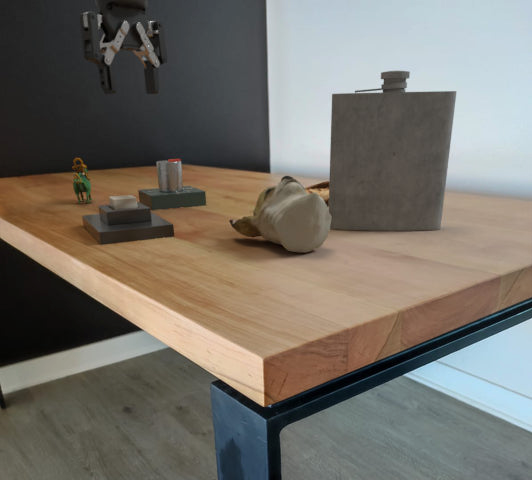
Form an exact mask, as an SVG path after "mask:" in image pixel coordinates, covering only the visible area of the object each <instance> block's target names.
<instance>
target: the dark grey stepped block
mask: <svg viewBox="0 0 532 480" xmlns="http://www.w3.org/2000/svg"><path fill="white" fill-rule="evenodd" d="M137 206H138V208H130V209H119V210H112V209H111V208H110V204H103V205H98V206H97V209H98V213H93V214H84V215H81V219H82V226H83V227H84V229H85V230H86V231H87V232H88V233H89V234H90V236H92V237H93V238H94V239H95V240H96V241H97V242H98V244H100V246H101V245H102V246H104V245H111V244H121V243H130V242H138V240H139V241H147V240H148V241H149V240H154V239H155V238H157V239H164V238H163V237H165V238H173V237H172V236H174V237H175V228H174V224H173V223H172V222H170V221H168V220H166V219H164V218H163V217H161V216H159V215H158V214H156V213H154V212H153V211H152V210H151V209H150V208H149V207H147V206H146V205H144V204H142V203H140V202H139V201H137ZM155 240H156V239H155Z"/></svg>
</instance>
